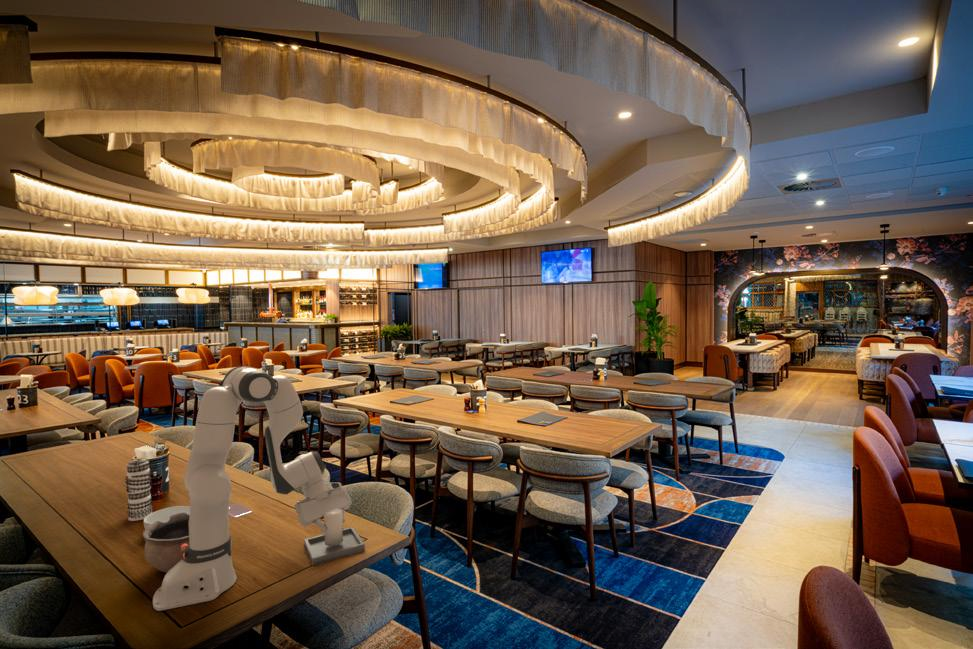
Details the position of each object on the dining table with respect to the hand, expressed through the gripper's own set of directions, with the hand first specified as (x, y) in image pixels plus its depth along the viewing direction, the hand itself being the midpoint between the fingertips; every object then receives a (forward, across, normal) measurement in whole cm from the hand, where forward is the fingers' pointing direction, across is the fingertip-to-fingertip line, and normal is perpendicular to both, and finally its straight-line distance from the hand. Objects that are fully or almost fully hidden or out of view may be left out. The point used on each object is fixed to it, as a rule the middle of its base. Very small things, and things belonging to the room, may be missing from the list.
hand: (334, 526), depth 170 cm
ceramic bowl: (-18, -37, +30) cm, 51 cm away
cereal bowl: (-42, -30, +54) cm, 75 cm away
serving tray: (+6, 0, +6) cm, 8 cm away
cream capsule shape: (+4, 0, +5) cm, 6 cm away
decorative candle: (-61, -32, +73) cm, 100 cm away
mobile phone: (-40, -5, +52) cm, 66 cm away
